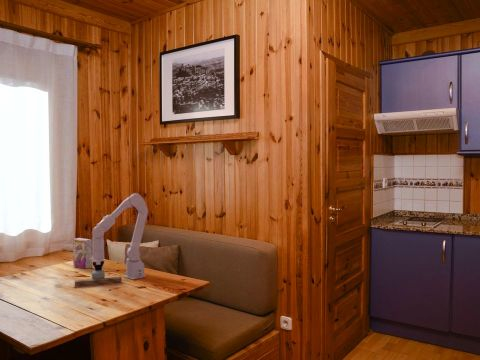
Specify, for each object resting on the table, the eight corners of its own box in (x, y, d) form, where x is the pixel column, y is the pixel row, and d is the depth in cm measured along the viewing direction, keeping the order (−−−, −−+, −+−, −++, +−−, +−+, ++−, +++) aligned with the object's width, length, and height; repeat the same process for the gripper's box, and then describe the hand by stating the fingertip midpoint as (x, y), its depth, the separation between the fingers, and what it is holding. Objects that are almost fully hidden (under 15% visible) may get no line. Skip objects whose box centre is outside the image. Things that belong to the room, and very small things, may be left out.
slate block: (104, 279, 220) (104, 269, 220) (104, 282, 214) (104, 272, 214) (92, 280, 218) (92, 270, 218) (92, 283, 212) (92, 273, 212)
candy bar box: (72, 266, 247) (72, 238, 246) (80, 265, 251) (79, 237, 251) (85, 269, 241) (85, 240, 240) (92, 267, 245) (92, 239, 245)
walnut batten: (121, 281, 216) (121, 276, 216) (121, 283, 213) (121, 278, 213) (75, 285, 209) (74, 280, 209) (74, 287, 206) (74, 281, 206)
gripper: (90, 247, 225) (90, 272, 226) (89, 252, 211) (90, 279, 212) (104, 246, 227) (104, 271, 228) (104, 251, 214) (104, 278, 214)
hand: (98, 275), depth 220 cm, fingers closed
